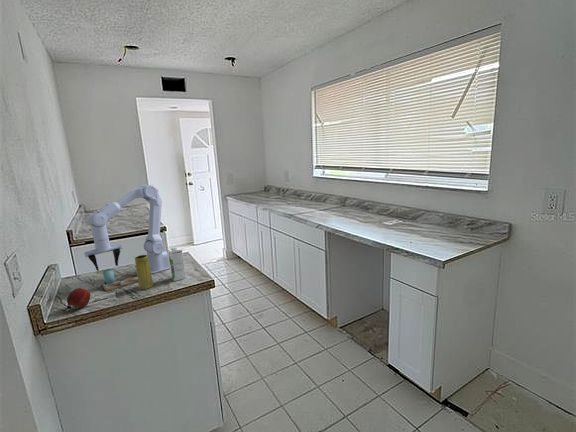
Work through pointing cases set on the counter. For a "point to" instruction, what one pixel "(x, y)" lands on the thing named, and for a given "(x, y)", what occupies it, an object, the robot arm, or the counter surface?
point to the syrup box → (176, 263)
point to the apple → (79, 298)
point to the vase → (143, 272)
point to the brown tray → (121, 281)
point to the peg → (109, 276)
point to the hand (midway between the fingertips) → (107, 267)
